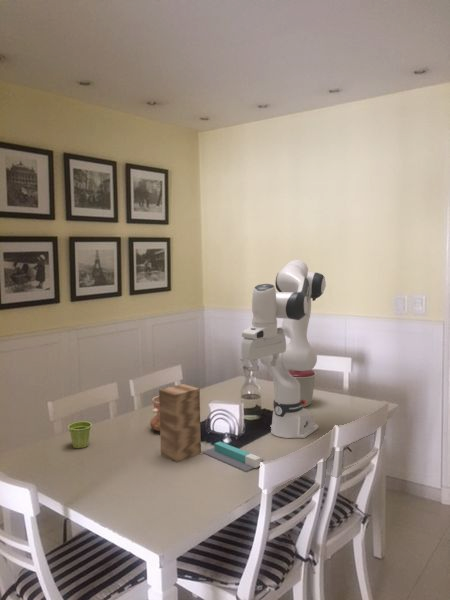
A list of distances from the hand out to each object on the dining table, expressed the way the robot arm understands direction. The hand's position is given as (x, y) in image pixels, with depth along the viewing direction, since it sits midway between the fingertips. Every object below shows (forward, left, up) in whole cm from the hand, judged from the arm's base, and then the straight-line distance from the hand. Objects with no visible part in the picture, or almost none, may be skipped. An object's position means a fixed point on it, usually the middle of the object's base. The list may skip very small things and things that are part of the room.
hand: (264, 368), depth 179 cm
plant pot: (+38, -68, -37) cm, 86 cm away
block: (+2, -13, -37) cm, 39 cm away
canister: (-67, -38, -37) cm, 86 cm away
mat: (+2, -14, -37) cm, 40 cm away
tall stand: (+14, -32, -37) cm, 51 cm away
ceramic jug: (+1, -58, -37) cm, 69 cm away
